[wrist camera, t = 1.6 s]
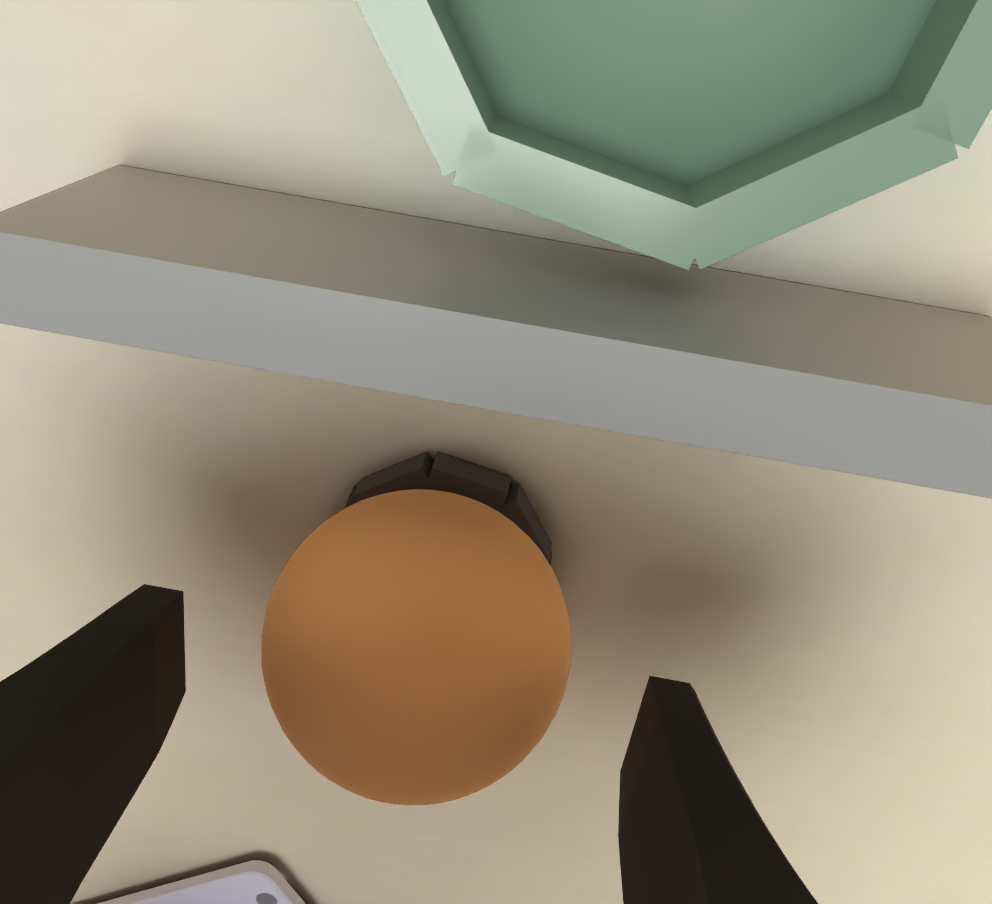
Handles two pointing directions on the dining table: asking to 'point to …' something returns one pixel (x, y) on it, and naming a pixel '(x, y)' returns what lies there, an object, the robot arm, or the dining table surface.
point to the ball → (416, 647)
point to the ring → (458, 489)
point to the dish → (688, 107)
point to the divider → (507, 324)
